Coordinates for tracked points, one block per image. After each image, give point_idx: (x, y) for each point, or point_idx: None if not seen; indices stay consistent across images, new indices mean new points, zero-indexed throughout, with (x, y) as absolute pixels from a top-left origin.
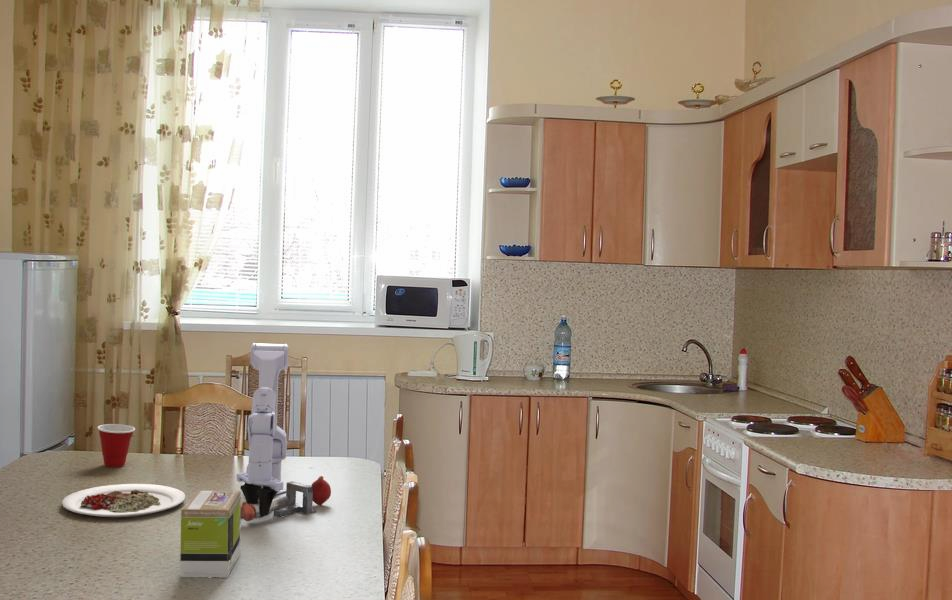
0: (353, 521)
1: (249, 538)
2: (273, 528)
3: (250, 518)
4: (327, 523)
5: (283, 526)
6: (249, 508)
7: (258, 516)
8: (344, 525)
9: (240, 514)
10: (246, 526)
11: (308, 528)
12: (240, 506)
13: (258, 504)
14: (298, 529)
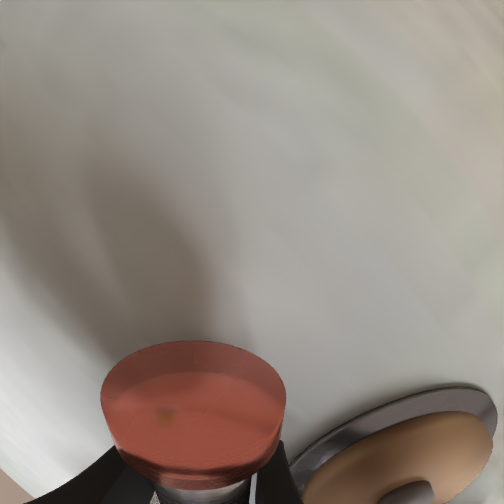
0: (36, 486)
1: (17, 136)
2: (67, 362)
3: (145, 350)
4: (43, 466)
5: (72, 406)
6: (130, 414)
7: (292, 465)
8: (13, 457)
9: (388, 429)
10: (202, 314)
11: (15, 412)
12: (428, 470)
13: (171, 502)
14: (16, 391)
